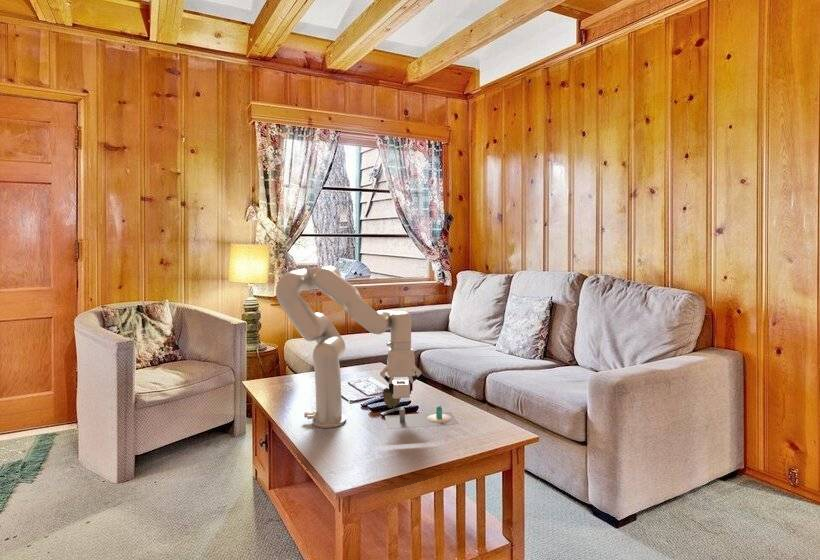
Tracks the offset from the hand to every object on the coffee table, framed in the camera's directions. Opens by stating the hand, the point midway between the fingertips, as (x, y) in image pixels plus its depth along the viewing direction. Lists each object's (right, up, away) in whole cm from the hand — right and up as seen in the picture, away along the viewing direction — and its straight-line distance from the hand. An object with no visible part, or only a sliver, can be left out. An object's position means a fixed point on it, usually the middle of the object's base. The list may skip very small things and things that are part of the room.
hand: (400, 392), depth 189 cm
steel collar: (0, -1, 0) cm, 1 cm away
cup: (-4, -11, +18) cm, 21 cm away
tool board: (+8, -12, +2) cm, 14 cm away
